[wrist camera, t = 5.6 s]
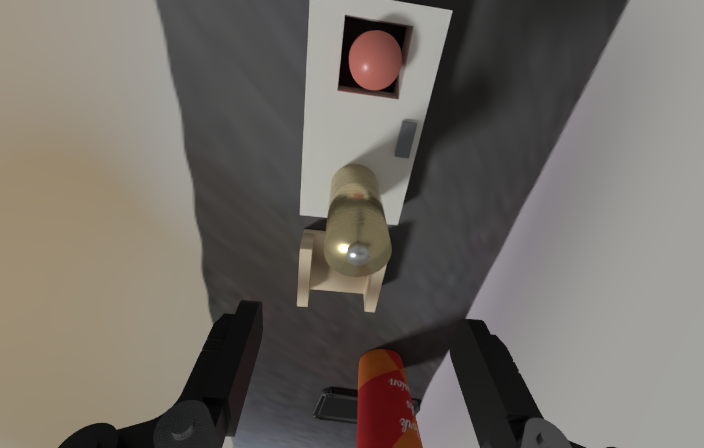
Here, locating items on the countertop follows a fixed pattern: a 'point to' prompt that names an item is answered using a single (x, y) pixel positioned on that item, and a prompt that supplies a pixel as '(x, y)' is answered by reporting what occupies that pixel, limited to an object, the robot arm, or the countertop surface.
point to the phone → (341, 406)
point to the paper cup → (385, 403)
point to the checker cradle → (366, 102)
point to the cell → (356, 224)
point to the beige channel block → (331, 274)
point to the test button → (375, 59)
